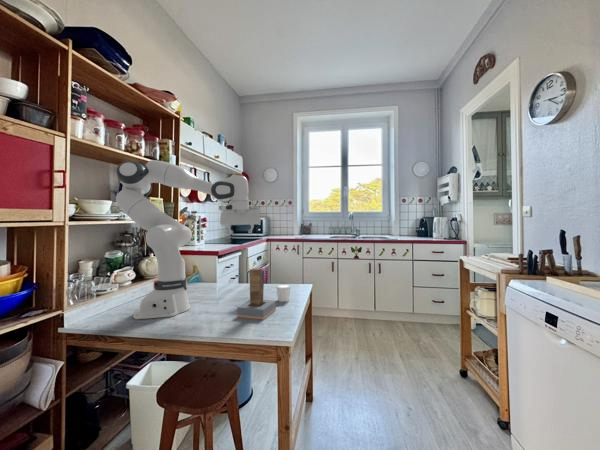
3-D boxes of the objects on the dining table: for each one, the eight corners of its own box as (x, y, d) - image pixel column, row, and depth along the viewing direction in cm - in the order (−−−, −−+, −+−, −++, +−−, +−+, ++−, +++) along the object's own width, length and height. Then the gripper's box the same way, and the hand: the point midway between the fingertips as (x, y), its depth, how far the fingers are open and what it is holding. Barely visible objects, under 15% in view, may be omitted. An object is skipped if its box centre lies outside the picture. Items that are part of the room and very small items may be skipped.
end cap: (263, 319, 105) (263, 309, 105) (237, 316, 109) (237, 307, 109) (275, 309, 117) (275, 300, 117) (251, 307, 121) (251, 298, 120)
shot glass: (276, 298, 134) (276, 284, 134) (290, 297, 135) (289, 284, 134) (276, 302, 127) (276, 288, 127) (290, 301, 128) (290, 287, 128)
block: (259, 312, 110) (257, 270, 110) (250, 312, 112) (249, 269, 111) (263, 309, 114) (262, 268, 114) (255, 309, 115) (253, 267, 115)
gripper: (259, 207, 141) (259, 232, 142) (219, 207, 134) (220, 234, 134) (261, 206, 136) (262, 233, 136) (220, 206, 128) (221, 235, 128)
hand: (241, 233), depth 135 cm, fingers open, 8 cm apart
